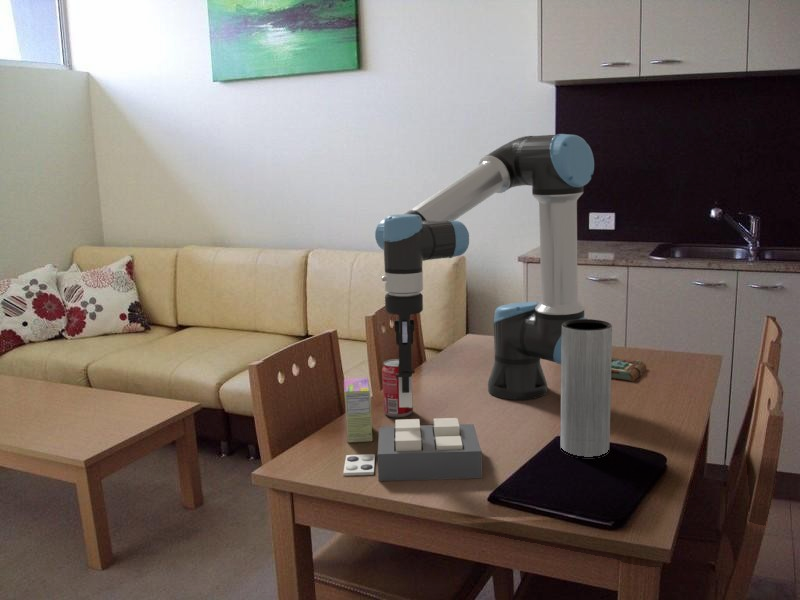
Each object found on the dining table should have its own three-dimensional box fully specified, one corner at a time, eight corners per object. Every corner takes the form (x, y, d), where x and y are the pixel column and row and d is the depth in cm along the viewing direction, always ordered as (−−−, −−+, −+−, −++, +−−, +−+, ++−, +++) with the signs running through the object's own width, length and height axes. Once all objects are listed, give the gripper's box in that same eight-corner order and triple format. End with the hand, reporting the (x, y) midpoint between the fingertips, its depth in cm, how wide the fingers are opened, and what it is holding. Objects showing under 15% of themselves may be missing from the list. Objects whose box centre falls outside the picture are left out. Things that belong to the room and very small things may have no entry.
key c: (460, 454, 154) (460, 435, 153) (462, 464, 149) (462, 445, 148) (435, 455, 154) (435, 436, 153) (437, 465, 149) (436, 445, 148)
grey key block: (473, 448, 163) (473, 423, 162) (481, 477, 148) (481, 451, 147) (380, 451, 163) (379, 426, 162) (378, 481, 148) (377, 454, 147)
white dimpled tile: (375, 456, 160) (374, 453, 160) (373, 474, 151) (373, 471, 151) (346, 457, 160) (346, 454, 160) (343, 475, 151) (343, 472, 151)
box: (345, 427, 178) (343, 378, 176) (370, 425, 178) (368, 377, 176) (346, 443, 168) (344, 392, 165) (372, 442, 168) (370, 390, 166)
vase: (600, 462, 153) (603, 331, 148) (553, 453, 159) (554, 326, 154) (615, 446, 162) (618, 321, 157) (569, 437, 167) (571, 317, 162)
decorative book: (652, 371, 216) (652, 354, 215) (633, 388, 201) (634, 369, 200) (605, 365, 223) (606, 348, 222) (584, 381, 208) (585, 363, 208)
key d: (420, 449, 154) (420, 430, 153) (421, 459, 149) (421, 440, 148) (396, 450, 154) (395, 431, 153) (396, 460, 149) (395, 440, 148)
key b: (419, 437, 160) (419, 419, 160) (420, 446, 156) (420, 427, 155) (396, 437, 160) (395, 419, 160) (396, 446, 156) (395, 428, 155)
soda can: (410, 419, 182) (408, 366, 179) (380, 418, 183) (378, 365, 181) (415, 409, 188) (414, 358, 186) (387, 408, 190) (385, 357, 187)
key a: (457, 435, 161) (457, 417, 160) (459, 444, 156) (459, 426, 155) (434, 436, 160) (433, 418, 160) (435, 445, 156) (434, 427, 155)
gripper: (385, 287, 158) (387, 396, 163) (384, 298, 146) (387, 417, 150) (421, 286, 158) (422, 396, 163) (423, 298, 146) (425, 416, 150)
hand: (405, 406), depth 156 cm, fingers closed
